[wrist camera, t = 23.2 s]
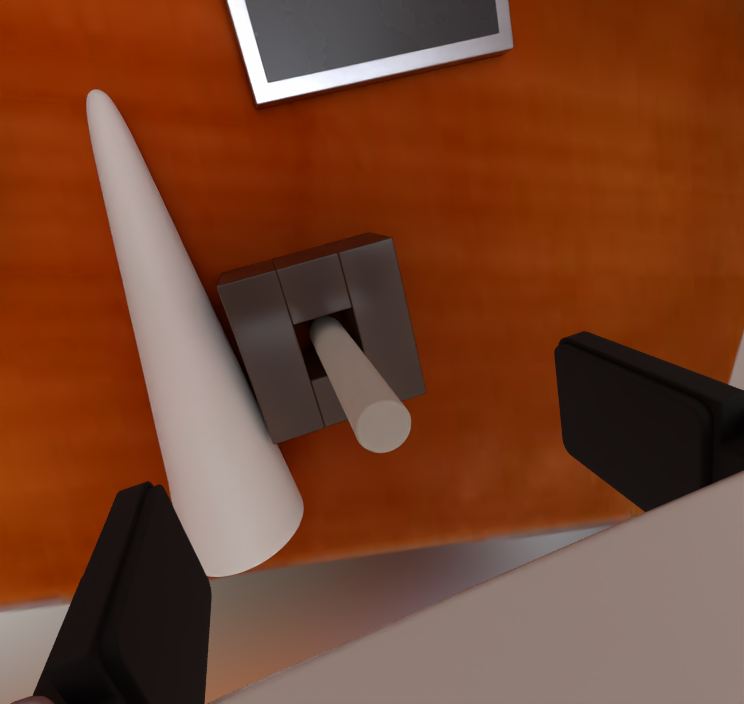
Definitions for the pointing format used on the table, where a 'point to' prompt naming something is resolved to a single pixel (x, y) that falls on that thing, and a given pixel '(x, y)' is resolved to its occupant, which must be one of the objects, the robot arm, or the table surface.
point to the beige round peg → (360, 388)
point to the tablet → (359, 41)
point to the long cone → (191, 373)
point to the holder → (313, 300)
